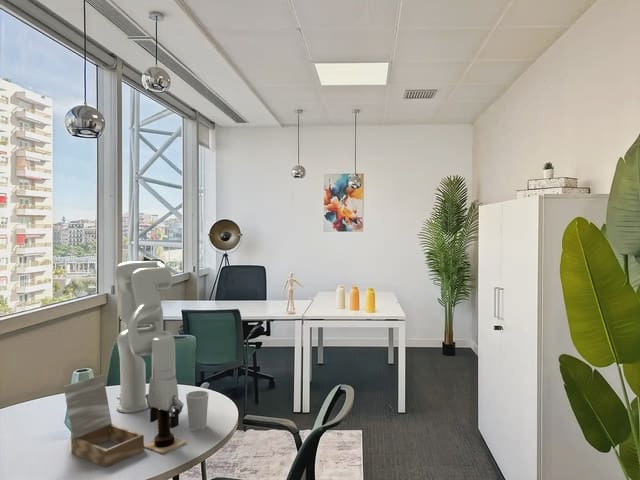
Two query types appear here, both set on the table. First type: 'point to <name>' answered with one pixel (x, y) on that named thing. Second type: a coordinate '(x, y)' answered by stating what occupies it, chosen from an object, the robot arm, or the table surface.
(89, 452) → the cold frame
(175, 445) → the cork mat
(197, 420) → the cup
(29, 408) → the table surface
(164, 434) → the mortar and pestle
